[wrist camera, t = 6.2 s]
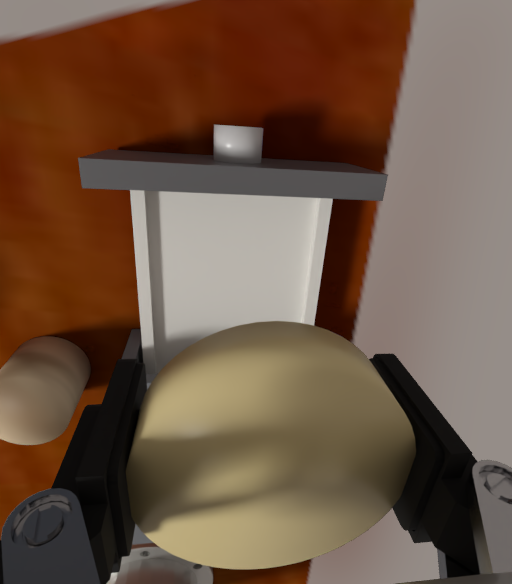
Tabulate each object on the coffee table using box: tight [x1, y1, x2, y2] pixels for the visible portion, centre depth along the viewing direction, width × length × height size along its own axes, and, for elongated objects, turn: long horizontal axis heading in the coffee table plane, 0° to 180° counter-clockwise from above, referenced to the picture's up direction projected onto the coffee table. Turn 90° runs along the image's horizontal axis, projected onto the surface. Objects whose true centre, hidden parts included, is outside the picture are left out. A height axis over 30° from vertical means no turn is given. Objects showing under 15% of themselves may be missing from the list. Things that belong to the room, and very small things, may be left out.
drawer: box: [78, 125, 388, 374], centre depth 21 cm, size 16×14×5 cm
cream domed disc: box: [126, 321, 416, 569], centre depth 10 cm, size 7×7×2 cm
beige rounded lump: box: [0, 336, 91, 445], centre depth 23 cm, size 5×5×4 cm
